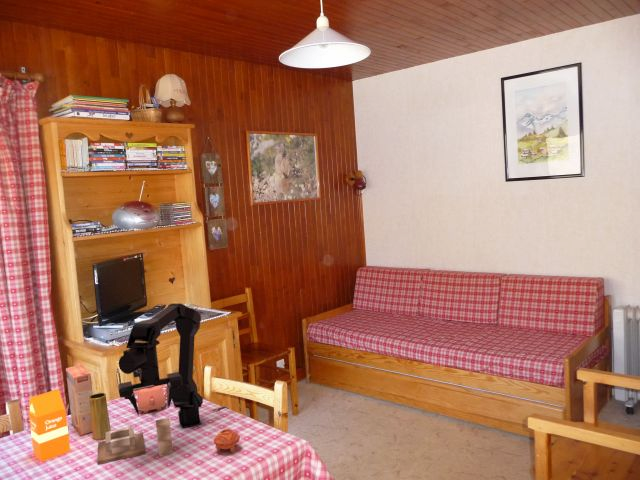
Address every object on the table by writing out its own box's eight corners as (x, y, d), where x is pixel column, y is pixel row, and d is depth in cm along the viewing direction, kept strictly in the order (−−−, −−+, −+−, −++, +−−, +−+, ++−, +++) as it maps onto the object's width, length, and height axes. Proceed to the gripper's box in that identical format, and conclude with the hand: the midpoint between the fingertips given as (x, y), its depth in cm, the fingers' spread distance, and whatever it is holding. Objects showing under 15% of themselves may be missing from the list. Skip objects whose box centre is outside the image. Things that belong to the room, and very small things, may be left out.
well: (143, 435, 185) (141, 421, 185) (145, 453, 172) (143, 438, 171) (98, 445, 180) (96, 430, 180) (97, 464, 167) (95, 449, 167)
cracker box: (98, 431, 191) (91, 373, 189) (79, 436, 188) (72, 377, 186) (89, 418, 203) (82, 363, 200) (71, 423, 199) (64, 367, 197)
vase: (105, 440, 183) (100, 399, 182) (88, 439, 185) (83, 399, 183) (115, 432, 189) (110, 392, 188) (99, 431, 191) (94, 391, 189)
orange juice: (70, 451, 177) (63, 391, 175) (41, 462, 171) (33, 400, 169) (62, 444, 183) (54, 386, 181) (33, 454, 177) (25, 394, 175)
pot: (216, 458, 165) (213, 435, 166) (215, 452, 173) (211, 430, 174) (242, 452, 168) (239, 429, 168) (240, 446, 175) (237, 425, 176)
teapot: (153, 417, 200) (151, 391, 199) (129, 413, 205) (126, 388, 204) (175, 404, 210) (172, 380, 209) (151, 401, 215) (149, 377, 214)
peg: (171, 447, 175) (168, 417, 174) (173, 453, 171) (170, 422, 170) (158, 450, 173) (155, 420, 172) (159, 456, 170) (156, 425, 169)
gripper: (174, 350, 181) (179, 395, 183) (114, 361, 174) (119, 408, 176) (180, 359, 171) (185, 407, 173) (117, 371, 164) (122, 421, 165)
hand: (153, 410), depth 172 cm, fingers open, 9 cm apart
